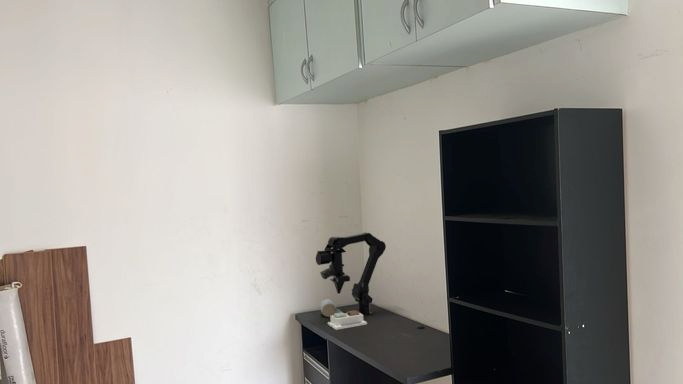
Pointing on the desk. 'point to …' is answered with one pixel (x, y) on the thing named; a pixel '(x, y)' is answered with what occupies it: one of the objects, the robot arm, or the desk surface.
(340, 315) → the sage key
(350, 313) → the walnut key
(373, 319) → the desk surface
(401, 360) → the desk surface
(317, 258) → the robot arm
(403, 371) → the desk surface
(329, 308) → the ceramic mug
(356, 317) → the key panel
